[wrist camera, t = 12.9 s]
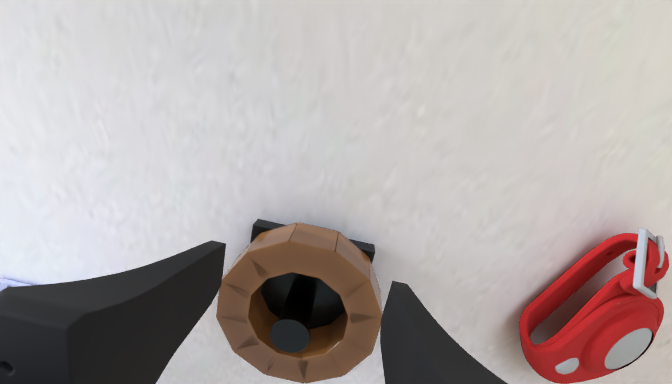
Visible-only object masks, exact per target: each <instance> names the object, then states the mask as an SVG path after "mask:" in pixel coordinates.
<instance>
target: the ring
mask: <svg viewBox="0 0 672 384" xmlns="http://www.w3.org/2000/svg"><path fill="white" fill-rule="evenodd" d="M291 272H293V273H298V274H302V275H307V276H311V277H315V278H320V279H321V280H322V281H323V282H325V283H326V284H327V285H328V286H329V287H331V288H332V289H333V290H334V291H336V292H337V293H338V294H339V295H340V296H341V299H342V301H343V304H344V307H345V312H344V313H342V314H341V315H340V316H339V317H338V318H337V319H336V320H335V321H333V322H332V323H331V324H330V325H326V326H322V327H317V328H313V329H309V330H310V341H309V344H308V345H307V347H306V348H305V349H303V350H302V351H300V352H296V353H288V352H284V351H281V350H280V349H278V348H277V347H276V346H275V345H274V344H273V343H272V341H271V339H270V330H271V327H272V325H273V324H274V322H275V321H277V320H278V319H279V318H278V317H277V316H276V315H274V314H273V313H272V312H270V311H269V309H268V307H267V304H266V302H265V300H264V298H263V296H262V293H261V289H262V284H263V283H264V282H265V281H266V280H267V279H268V278H272V277H276V276H280V275H284V274H288V273H291ZM382 315H383V314H382V303H381V293H380V288H379V285H378V282H377V279H376V276H375V273H374V270H373V267H372V264H371V261H370V258H369V257H368V256H367V255H366V254H365V253H364V252H362V251H361V250H360V249H359V248H358V247H357V246H355V245H354V244H353V243H352V242H351V241H349V240H348V239H347V238H346V237H345V236H344V235H342V234H341V233H340V232H338V231H335V230H331V229H326V228H322V227H317V226H313V225H308V224H304V223H294V224H291V225H287V226H283V227H280V228H276V229H273V230H269V231H266V232H262V233H261V234H259V235H258V236H257V237H256V238H255V239H254V240H253V241H252V243H251V244H250V245H249V246H248V247H247V248H246V249H245V250H244V251H243V253H242V254H241V255H240V256H239V257H238V258H237V259H236V261H235V262H234V263H233V265H232V266H231V267H230V269H229V270H228V271H227V273H226V274H225V275H224V277H223V278H222V284H221V287H220V288H219V296H218V305H217V314H216V317H217V320H218V322H219V324H220V326H221V328H222V330H223V332H224V334H225V336H226V338H227V340H228V342H229V344H230V346H231V348H232V350H234V352H235V353H236V354H238V355H239V356H240V357H242V358H243V359H244V360H246V361H247V362H248V363H250V364H251V365H253V366H254V367H255V368H257V369H258V370H259V371H261V372H262V373H263V374H266V375H269V376H273V377H278V378H282V379H286V380H291V381H295V382H300V383H310V382H316V381H321V380H326V379H331V378H336V377H341V376H343V375H345V374H347V373H348V372H349V371H350V370H352V369H353V368H354V367H355V366H356V365H358V364H359V363H360V362H361V361H363V360H364V359H365V358H366V357H367V356H369V355H370V354H371V353H372V352H373V349H374V345H375V342H376V339H377V336H378V332H379V329H380V326H381V318H382Z"/></svg>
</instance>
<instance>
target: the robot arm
mask: <svg viewBox="0 0 672 384" xmlns="http://www.w3.org/2000/svg"><path fill="white" fill-rule="evenodd" d="M225 247H226V244H225V243H220V242H216V241H209V242H206V243H204V244H201V245H199V246H196V247H194V248H191V249H189V250H187V251H184V252H182V253H179V254H177V255H174V256H172V257H169V258H166V259H163V260H160V261H158V262H155V263H152V264H149V265H146V266H143V267H140V268H136V269H132V270H129V271H125V272H121V273H117V274H112V275H107V276H102V277H97V278H92V279H86V280H80V281H73V282H65V283H57V284H46V285H30V284H26V283H21V282H17V281H12V280H8V279H3V278H0V384H156V382H157V380H158V379H159V377H160V375H161V374H162V372H163V370H164V369H165V367H166V366H167V364H168V362H169V361H170V359H171V357H172V356H173V355H174V353H175V352H176V350H177V349H178V347H179V346H180V345H181V343H182V342H183V341H184V339H185V338H186V337H187V335H188V334H189V333H190V331H191V330H192V329H193V327H194V326H195V325H196V323H197V322H198V321H199V320H200V318H201V317H202V315H203V314H204V313H205V311H206V310H207V309H208V307H209V306H210V304H211V303H212V301H213V299H214V298H215V296H216V294H217V292H218V290H219V288H220V287H221V284H222V275H223V266H224V257H225ZM380 342H381V352H382V361H383V369H384V377H385V384H507V383H506V382H504V381H503V380H502V379H500V378H499V377H497V376H496V375H495V374H493V373H492V372H490V371H489V370H488V369H487V368H485V367H484V366H483V365H482V364H480V363H479V362H478V361H477V360H475V359H474V358H473V357H472V356H471V355H469V354H468V353H467V352H466V351H465V350H464V349H463V348H462V347H461V346H460V345H459V344H458V343H456V342H455V341H454V340H453V339H452V338H451V337H450V336H449V335H448V334H447V332H446V331H445V330H444V329H443V328H442V327H441V326H440V325H439V324H438V323H437V321H436V320H435V319H434V318H433V317H432V315H431V314H430V313H429V312H428V311H427V309H426V308H425V307H424V305H423V304H422V303H421V302H420V300H419V299H418V298H417V296H416V295H415V294H414V292H413V291H412V290H411V288H410V287H409V286H408V285H407V284H404V283H400V282H395V281H392V285H391V288H390V291H389V295H388V298H387V301H386V305H385V308H384V311H383V315H382V318H381V332H380Z"/></svg>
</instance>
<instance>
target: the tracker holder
mask: <svg viewBox="0 0 672 384" xmlns="http://www.w3.org/2000/svg"><path fill="white" fill-rule="evenodd" d="M635 248H637V250H633V251H630V252H628V253H627V254H626V255H625V256H624V258H623V264H624V265H625V266H626V267H627V268H629V269H628V270H626V271H624V272H622V273H620V274H618V275H616V276H615V277H613V278H612V279H611V280H610V281H609V282H608V283H607V284H605V285H604V286H603V287H602V288H601V289H600V290H599V291H598V292H597V293H596V294H595V295H594V296H593V297H592V298H591V299H590V300H589V301H588V302H587V303H586V304H585V305H584V306H583V307H582V308H581V309H580V310H579V312H578V313H577V314H576V315H575V316H574V317H573V318H572V319H571V320H570V321H569V322H568V323H567V324H566V325H565V326H564V327H563V328H562V329H561V330H560V331H559V332H558V333H557V334H555V335H554V336H553V337H551V338H550V339H548V340H547V341H545V342H543V343H541V344H538V345H534V344H533V343H532V341H531V340H530V335H531V333H532V331H533V330H534V329H535V328H536V327H537V326H538V325H539V324H540V323H541V322H542V321H543V320H544V319H545V318H547V317H548V316H549V315H550V314H551V313H552V312H553V311H554V310H556V309H557V308H558V307H559V306H560V305H561V304H562V303H563V302H564V301H566V300H567V299H568V298H569V297H570V296H571V295H572V294H573V293H575V292H576V291H577V290H578V289H579V288H580V287H581V286H582V285H584V284H585V283H586V282H587V281H588V280H589V279H590V278H592V277H593V276H594V275H595V274H596V273H597V272H599V271H600V270H601V269H602V268H603V267H604V266H605V265H606V264H607V263H609V262H610V261H612V260H613V259H615V258H616V257H618V256H619V255H621V254H622V253H624V252H626V251H628V250H631V249H635ZM664 250H665V246H664V241H663V237H662V236H660V235H658V236H656V237H655V236H654V235H653V234H652V233H650V232H649V231H648V230H647V229H645V228H641V229H639V232H638V234H632V233H623V234H618V235H616V236H613V237H611V238H609V239H607V240H605V241H604V242H602V243H601V244H599V245H598V246H597V247H595V248H594V249H592V250H591V251H590V252H588V253H587V254H586V255H585V256H584V257H582V258H581V259H580V260H579V261H578V262H576V263H575V264H574V265H573V266H572V267H571V268H570V269H568V270H567V271H566V272H565V273H564V274H563V275H562V276H561V277H559V278H558V279H557V280H556V281H555V282H554V283H553V284H552V285H550V286H549V287H548V288H547V289H546V290H545V291H544V292H543V293H541V294H540V295H539V296H538V297H537V298H536V299H535V300H534V301H532V302H531V303H530V304H529V305H528V306H527V307H526V309H525V310H524V312H523V313H522V316H521V319H520V322H519V329H520V337H521V345H522V349H523V353H524V355H525V358H526V360H527V361H528V363H529V364H530V365H531V367H532V368H533V369H534V370H535V371H536V372H537V373H538V374H539V375H540V376H542V377H543V378H545V379H547V380H549V381H552V382H555V383H560V384H568V383H575V382H582V381H586V380H591V379H595V378H599V377H602V376H605V375H607V374H610V373H612V372H614V371H617V370H619V369H622V368H624V367H626V366H628V365H630V364H631V363H633V362H634V361H636V360H637V359H638V358H640V357H641V356H642V355H643V354H644V353H645V352H646V350H647V349H648V348H649V346H650V345H651V343H652V342H653V340H654V337H655V335H656V332H657V330H658V329H659V327H660V324H661V322H662V320H663V314H664V307H663V304H662V302H661V300H660V299H659V298H658V297H657V289H658V281H659V280H660V279H662V278H663V277H664V275H665V274H666V272H667V270H668V268H669V260H668V254H667V253H666V252H665V251H664Z"/></svg>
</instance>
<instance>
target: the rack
mask: <svg viewBox="0 0 672 384" xmlns="http://www.w3.org/2000/svg"><path fill="white" fill-rule="evenodd" d="M283 226H287V225H283V224H278V223H273V222H269V221H264V220H260V219H258V220H257V221H256V222H255V223H254V225H253V229H252V236H251V243H252V241H253V240H254V239H255V238H256V237H257V236H258V235H259V234H261V233H262V232H266V231H269V230H273V229H276V228H280V227H283ZM348 240H349V241H351V242H352V243H353V244H354V245H355V246H357V247H358V248H359V249H360V250H361V251H362V252H364V253H365V254H366V255H367V256H368V257H369V258H370V261H371V264H372V261H373V258H374V254H375V247H374V245H373V244H368V243H364V242H359V241H355V240H350V239H348ZM251 243H250V244H251ZM261 293H262V296H263V298H264V300H265V302H266V304H267V307H268V309H269V311H270V312H272V313H273V314H274V315H276V316H277V317H278V318H279V319H278V320H277V321H275V322H274V324H273V325H272V327H271V330H270V339H271V341H272V343H273V344H274V345H275V346H276V347H277V348H278V349H280V350H281V351H284V352H288V353H296V352H300V351H302V350H303V349H305V348H306V347H307V345H308V344H309V341H310V330H309V329H313V328H317V327H322V326H326V325H330V324H331V323H332V322H333V321H335V320H336V319H337V318H338V317H339V316H340V315H341V314H342V313H344V312H345V307H344V304H343V301H342V299H341V296H340V295H339V294H338V293H337V292H336V291H334V290H333V289H332V288H331V287H329V286H328V285H327V284H326V283H325V282H323V281H322V280H321V279H320V278H315V277H311V276H307V275H302V274H298V273H293V272H291V273H288V274H284V275H280V276H276V277H272V278H268V279H267V280H266V281H265V282H264V283H263V284H262V289H261Z"/></svg>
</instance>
